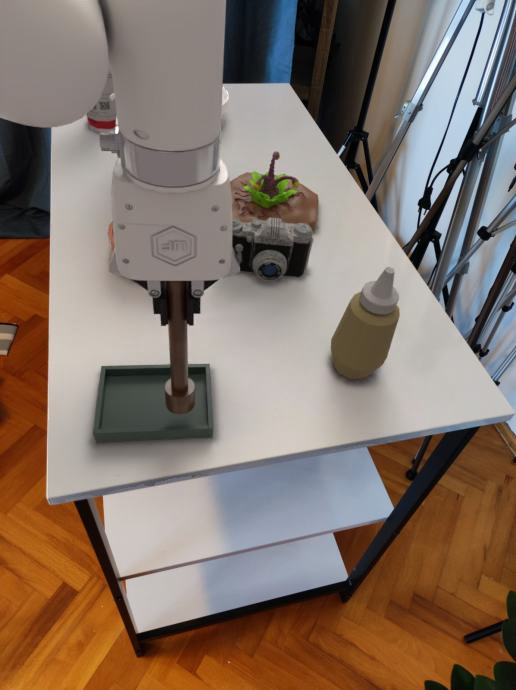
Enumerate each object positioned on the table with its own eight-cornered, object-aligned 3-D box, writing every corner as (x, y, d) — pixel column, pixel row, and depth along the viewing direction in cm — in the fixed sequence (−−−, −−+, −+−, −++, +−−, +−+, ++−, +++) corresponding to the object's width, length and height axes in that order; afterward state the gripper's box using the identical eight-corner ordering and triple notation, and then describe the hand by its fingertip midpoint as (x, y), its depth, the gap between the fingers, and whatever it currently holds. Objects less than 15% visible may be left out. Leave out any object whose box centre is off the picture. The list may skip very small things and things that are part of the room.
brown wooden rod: (160, 409, 59) (150, 278, 47) (172, 389, 62) (166, 259, 49) (188, 417, 59) (185, 287, 46) (199, 397, 61) (200, 267, 49)
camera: (217, 282, 80) (219, 231, 73) (220, 255, 85) (223, 205, 77) (306, 291, 81) (318, 242, 74) (305, 264, 86) (316, 216, 78)
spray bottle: (114, 136, 108) (98, 2, 89) (82, 129, 108) (59, -6, 90) (128, 121, 113) (116, -9, 94) (98, 114, 114) (80, -16, 95)
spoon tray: (95, 442, 59) (92, 433, 58) (103, 375, 66) (101, 365, 64) (212, 437, 62) (213, 428, 60) (209, 372, 68) (209, 363, 66)
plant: (327, 198, 100) (340, 146, 92) (305, 254, 87) (316, 199, 79) (235, 174, 102) (239, 121, 94) (200, 225, 90) (200, 169, 81)
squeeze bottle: (343, 393, 68) (381, 300, 55) (315, 351, 73) (343, 256, 59) (390, 377, 71) (437, 284, 57) (360, 337, 75) (397, 243, 62)
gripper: (55, 173, 34) (95, 344, 48) (279, 180, 37) (255, 341, 50) (70, 122, 39) (102, 291, 53) (267, 131, 41) (249, 291, 55)
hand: (177, 315), depth 52 cm, fingers closed on brown wooden rod, 2 cm apart
